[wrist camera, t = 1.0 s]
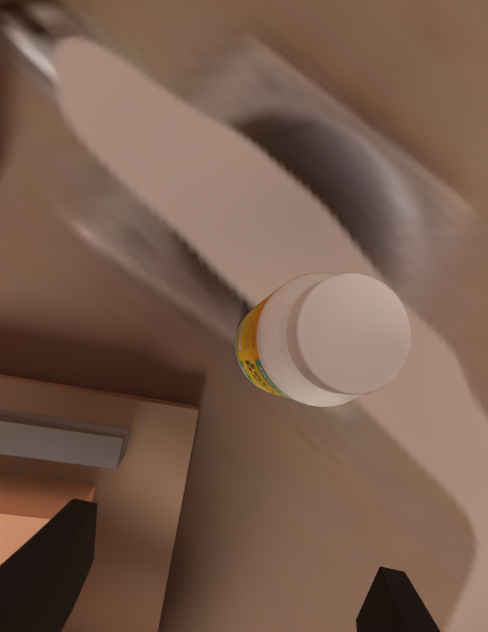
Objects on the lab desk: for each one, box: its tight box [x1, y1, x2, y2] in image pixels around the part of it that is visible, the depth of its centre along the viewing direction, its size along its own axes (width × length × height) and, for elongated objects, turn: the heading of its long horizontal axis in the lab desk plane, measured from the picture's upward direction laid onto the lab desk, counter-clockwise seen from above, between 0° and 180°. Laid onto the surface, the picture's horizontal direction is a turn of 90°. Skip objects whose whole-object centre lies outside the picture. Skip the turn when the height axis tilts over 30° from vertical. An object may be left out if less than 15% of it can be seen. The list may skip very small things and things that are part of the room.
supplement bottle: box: [235, 273, 411, 407], centre depth 17 cm, size 5×5×10 cm
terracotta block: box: [0, 473, 96, 565], centre depth 14 cm, size 5×5×4 cm
